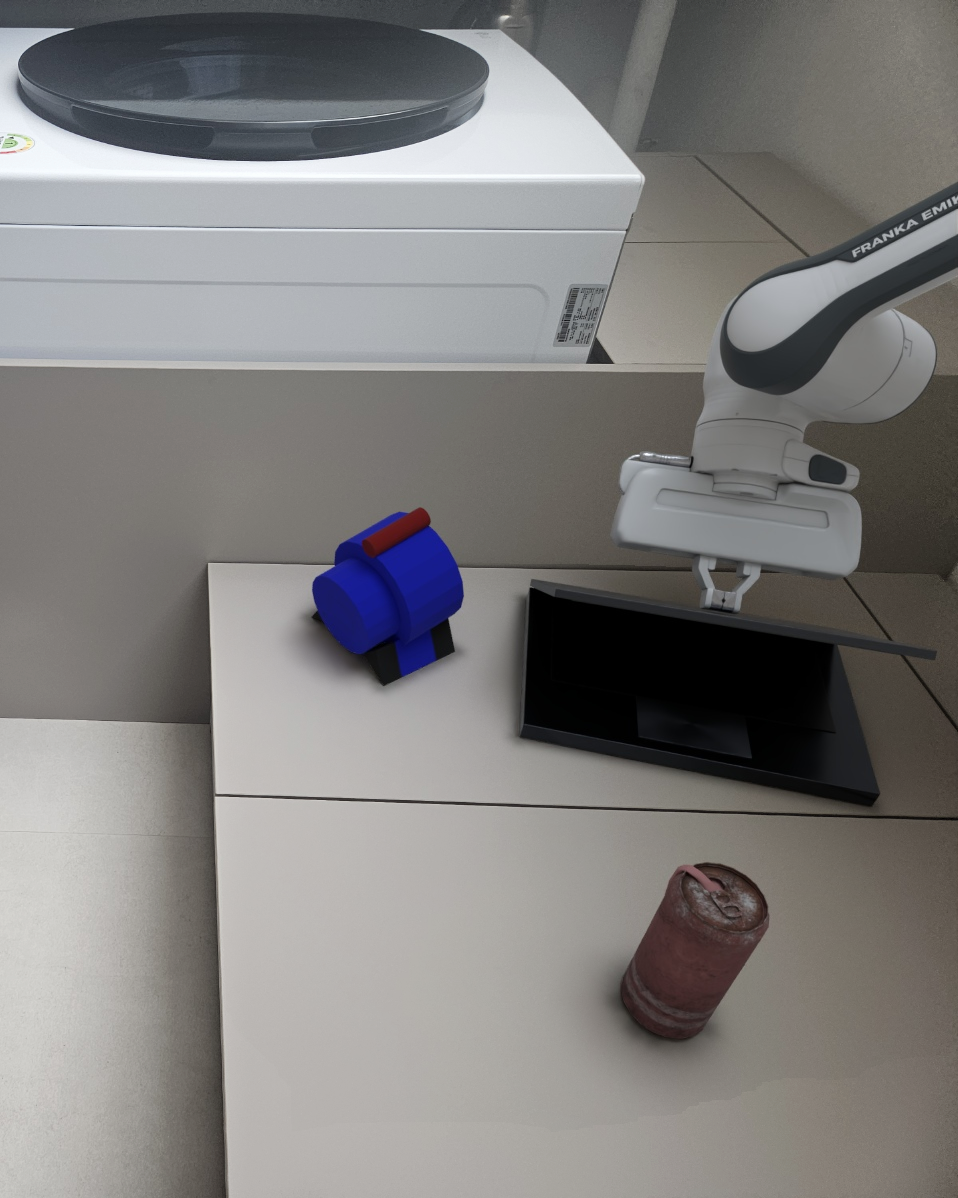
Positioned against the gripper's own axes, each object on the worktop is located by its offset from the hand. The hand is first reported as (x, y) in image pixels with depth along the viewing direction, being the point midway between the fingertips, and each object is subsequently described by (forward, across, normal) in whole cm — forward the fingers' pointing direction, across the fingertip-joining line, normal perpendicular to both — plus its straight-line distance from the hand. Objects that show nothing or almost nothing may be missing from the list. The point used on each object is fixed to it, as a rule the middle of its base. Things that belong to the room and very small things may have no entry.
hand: (718, 611), depth 95 cm
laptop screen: (0, 0, +4) cm, 4 cm away
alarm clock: (+8, -30, +9) cm, 32 cm away
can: (+32, -4, -16) cm, 36 cm away
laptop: (+7, 0, +8) cm, 11 cm away
